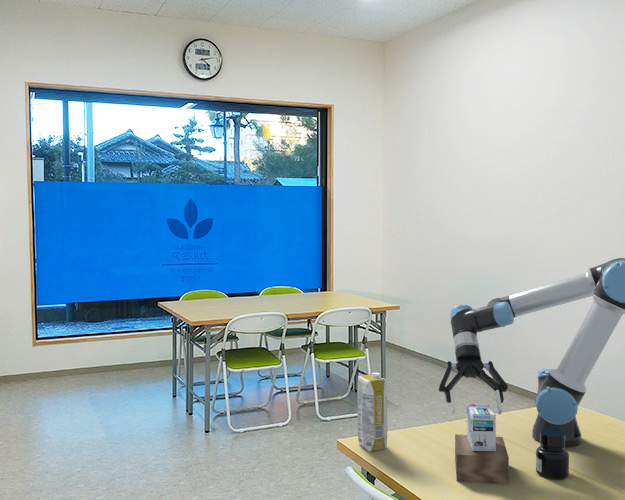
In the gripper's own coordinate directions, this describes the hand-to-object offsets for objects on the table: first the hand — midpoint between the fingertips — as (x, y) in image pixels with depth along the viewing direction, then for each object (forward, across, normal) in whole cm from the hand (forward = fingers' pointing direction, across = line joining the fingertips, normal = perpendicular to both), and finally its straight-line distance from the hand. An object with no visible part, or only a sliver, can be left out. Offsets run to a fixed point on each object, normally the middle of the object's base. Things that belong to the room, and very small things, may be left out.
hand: (476, 412), depth 181 cm
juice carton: (+1, +30, -24) cm, 38 cm away
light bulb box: (+8, -1, -5) cm, 10 cm away
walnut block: (+14, -1, -11) cm, 17 cm away
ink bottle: (+14, -21, -10) cm, 27 cm away
